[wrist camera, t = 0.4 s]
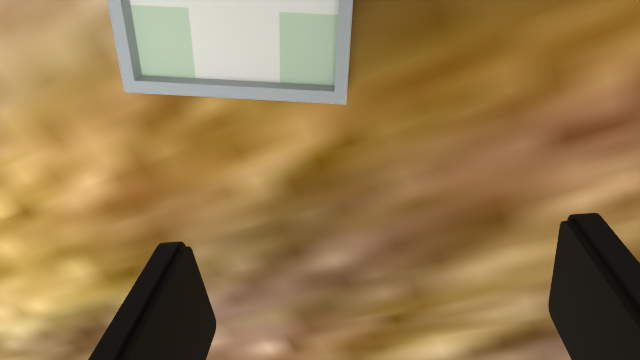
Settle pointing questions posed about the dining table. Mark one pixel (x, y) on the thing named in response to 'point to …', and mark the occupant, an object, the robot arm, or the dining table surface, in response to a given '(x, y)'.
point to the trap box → (235, 48)
